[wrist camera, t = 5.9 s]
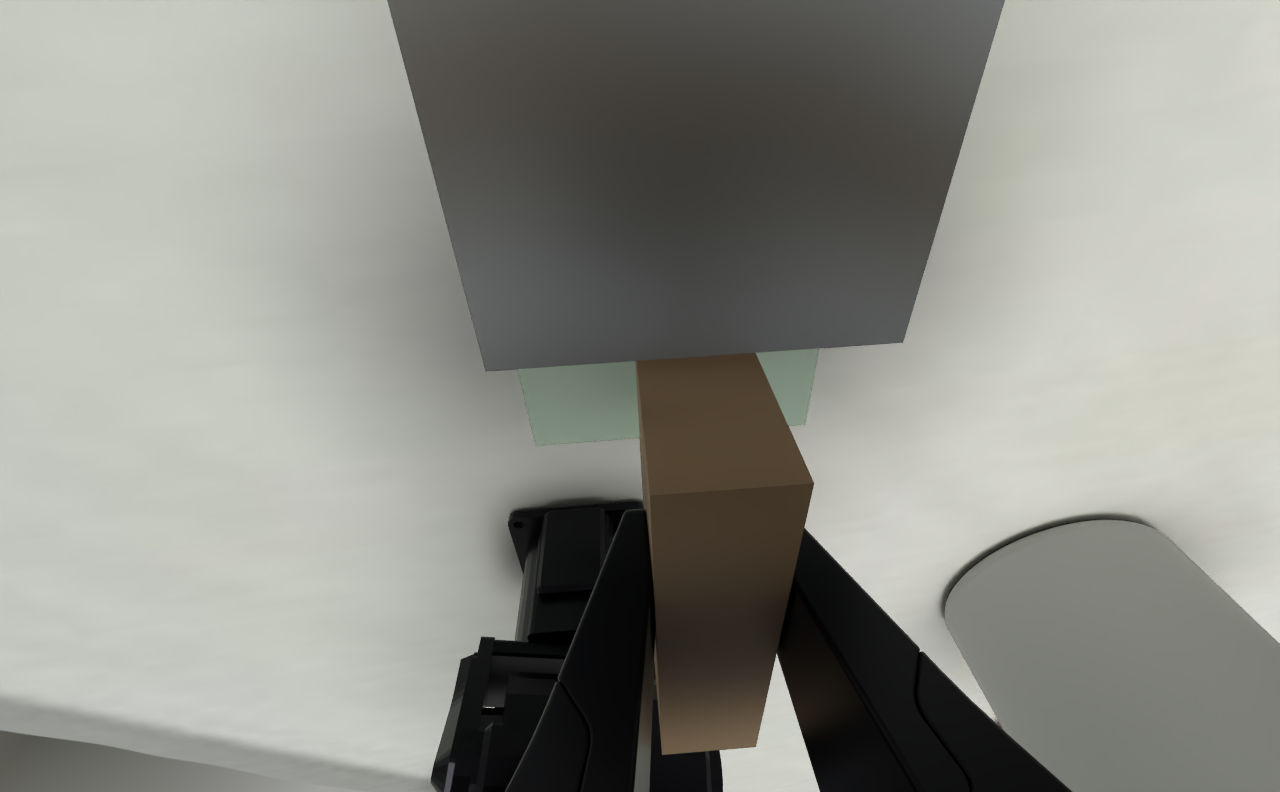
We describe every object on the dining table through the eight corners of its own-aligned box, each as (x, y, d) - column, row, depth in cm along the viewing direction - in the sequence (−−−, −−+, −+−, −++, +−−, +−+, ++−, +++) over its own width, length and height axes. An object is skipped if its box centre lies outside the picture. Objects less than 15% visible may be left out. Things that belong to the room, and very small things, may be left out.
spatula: (811, 574, 14) (872, 737, 11) (556, 594, 14) (543, 765, 11) (995, -151, 6) (1444, -330, 3) (383, -121, 6) (122, -277, 3)
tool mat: (797, 409, 22) (805, 424, 21) (537, 429, 22) (535, 445, 21) (906, -242, 11) (929, -260, 10) (392, -211, 11) (376, -228, 10)
